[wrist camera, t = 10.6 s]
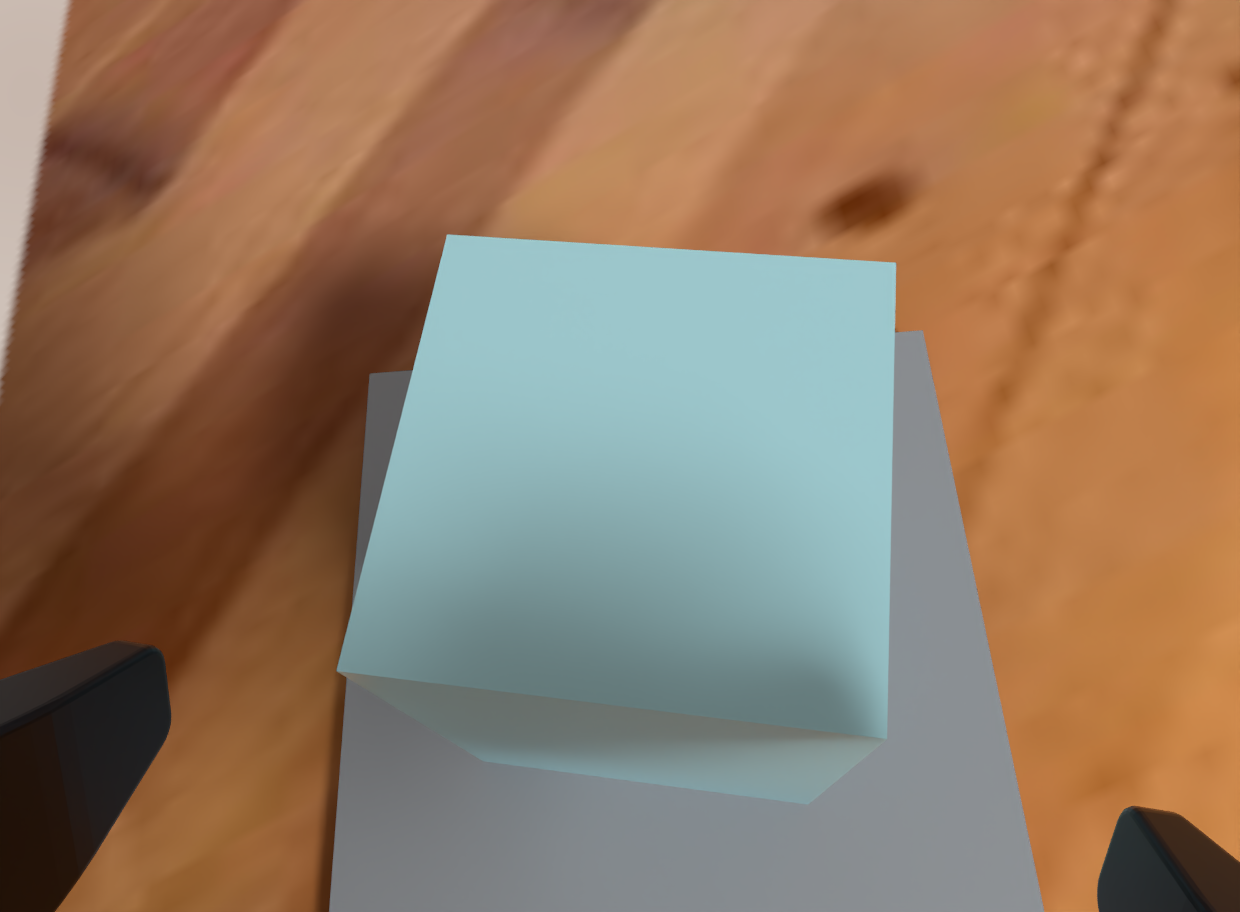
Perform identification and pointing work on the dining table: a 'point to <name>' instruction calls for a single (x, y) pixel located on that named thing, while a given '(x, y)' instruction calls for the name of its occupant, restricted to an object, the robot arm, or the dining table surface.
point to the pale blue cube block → (641, 516)
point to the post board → (702, 820)
